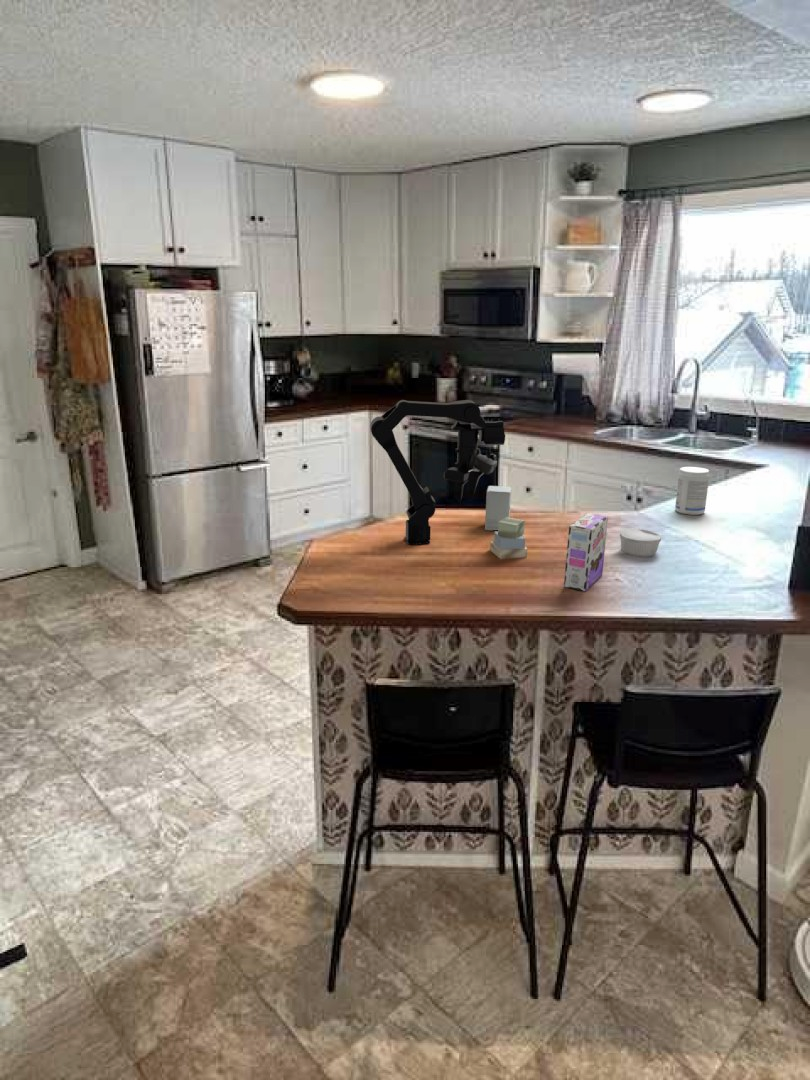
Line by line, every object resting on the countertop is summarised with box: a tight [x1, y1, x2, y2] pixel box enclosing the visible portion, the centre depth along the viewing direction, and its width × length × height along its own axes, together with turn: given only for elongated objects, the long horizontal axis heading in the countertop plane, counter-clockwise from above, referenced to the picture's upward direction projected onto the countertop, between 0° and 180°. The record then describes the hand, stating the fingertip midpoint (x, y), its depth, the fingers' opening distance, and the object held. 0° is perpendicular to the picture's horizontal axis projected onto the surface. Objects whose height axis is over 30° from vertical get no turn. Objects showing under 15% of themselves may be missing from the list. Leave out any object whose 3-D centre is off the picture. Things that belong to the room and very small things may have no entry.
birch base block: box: [489, 540, 528, 560], centre depth 209 cm, size 8×8×3 cm
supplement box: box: [484, 485, 512, 531], centre depth 230 cm, size 7×7×13 cm
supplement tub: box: [674, 466, 710, 516], centre depth 248 cm, size 10×10×15 cm
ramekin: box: [619, 528, 662, 558], centre depth 211 cm, size 11×11×5 cm
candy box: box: [563, 512, 609, 592], centre depth 187 cm, size 14×6×16 cm, turn 148°
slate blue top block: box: [493, 531, 526, 550], centre depth 208 cm, size 7×7×3 cm
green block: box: [498, 517, 526, 539], centre depth 207 cm, size 6×6×4 cm
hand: (465, 498), depth 216 cm, fingers open, 9 cm apart
